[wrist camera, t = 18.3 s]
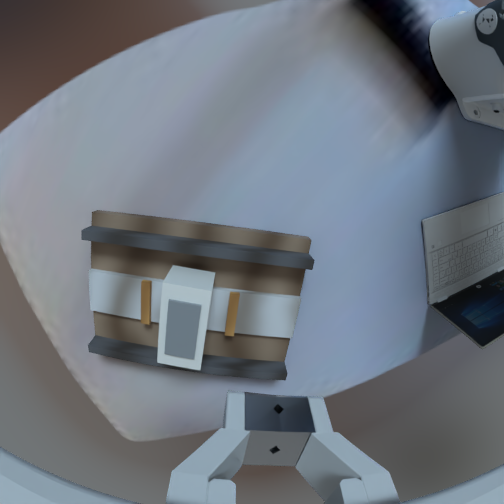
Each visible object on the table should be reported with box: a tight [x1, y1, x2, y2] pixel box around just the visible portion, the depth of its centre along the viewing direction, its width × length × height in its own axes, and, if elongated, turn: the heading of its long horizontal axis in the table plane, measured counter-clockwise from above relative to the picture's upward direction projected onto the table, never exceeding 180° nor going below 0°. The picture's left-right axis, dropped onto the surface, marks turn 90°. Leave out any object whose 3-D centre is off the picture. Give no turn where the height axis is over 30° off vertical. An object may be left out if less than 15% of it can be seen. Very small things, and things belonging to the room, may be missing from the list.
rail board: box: [82, 210, 314, 380], centre depth 33 cm, size 24×18×4 cm
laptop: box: [422, 192, 504, 349], centre depth 29 cm, size 18×12×13 cm
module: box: [157, 265, 215, 370], centre depth 30 cm, size 4×9×5 cm, turn 169°
